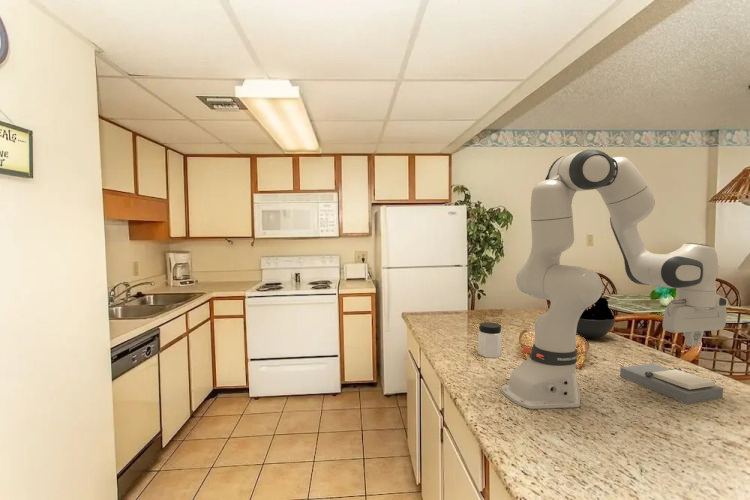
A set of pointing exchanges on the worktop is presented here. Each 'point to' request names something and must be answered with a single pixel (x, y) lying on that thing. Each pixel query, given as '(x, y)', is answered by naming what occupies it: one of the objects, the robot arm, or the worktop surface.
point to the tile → (683, 379)
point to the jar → (490, 340)
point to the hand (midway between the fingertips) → (692, 345)
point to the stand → (669, 384)
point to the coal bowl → (596, 320)
